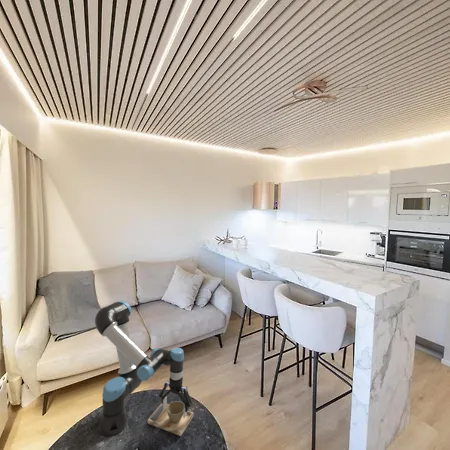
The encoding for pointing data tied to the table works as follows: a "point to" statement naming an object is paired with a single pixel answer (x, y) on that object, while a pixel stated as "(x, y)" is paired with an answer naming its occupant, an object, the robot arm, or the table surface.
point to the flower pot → (175, 411)
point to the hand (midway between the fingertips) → (174, 412)
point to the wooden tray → (169, 421)
